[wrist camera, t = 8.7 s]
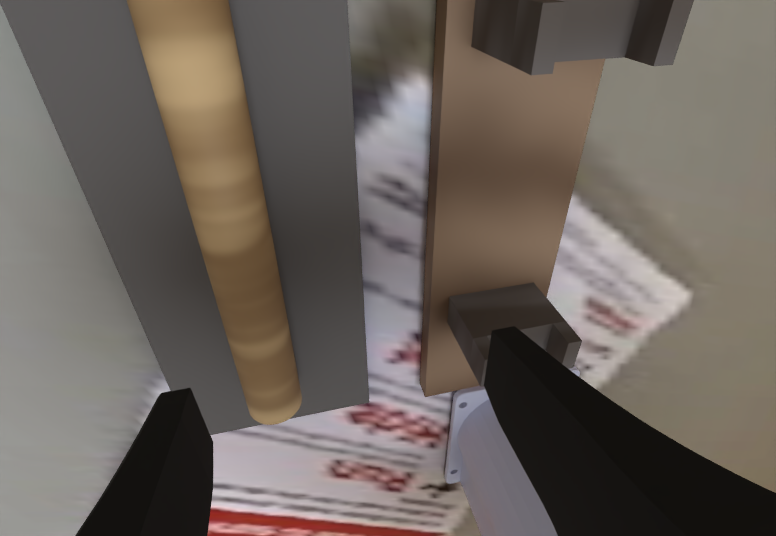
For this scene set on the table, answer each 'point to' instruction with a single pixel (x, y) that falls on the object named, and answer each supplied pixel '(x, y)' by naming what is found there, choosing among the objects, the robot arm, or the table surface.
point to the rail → (222, 188)
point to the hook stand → (514, 163)
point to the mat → (168, 203)
